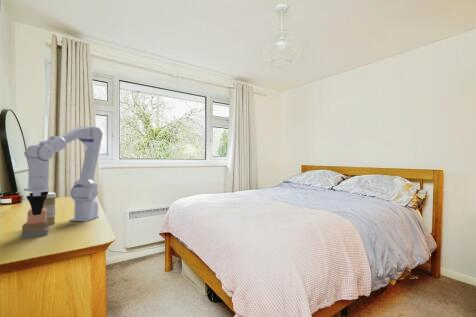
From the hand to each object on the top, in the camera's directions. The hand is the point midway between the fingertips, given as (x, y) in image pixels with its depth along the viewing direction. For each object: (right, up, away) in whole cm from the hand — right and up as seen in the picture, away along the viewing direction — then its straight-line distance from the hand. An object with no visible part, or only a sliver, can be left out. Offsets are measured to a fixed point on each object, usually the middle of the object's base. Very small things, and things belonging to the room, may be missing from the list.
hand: (37, 212), depth 86 cm
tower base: (0, -9, 0) cm, 9 cm away
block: (0, -4, 0) cm, 4 cm away
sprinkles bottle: (-6, -8, +12) cm, 16 cm away
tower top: (0, -6, -1) cm, 6 cm away
